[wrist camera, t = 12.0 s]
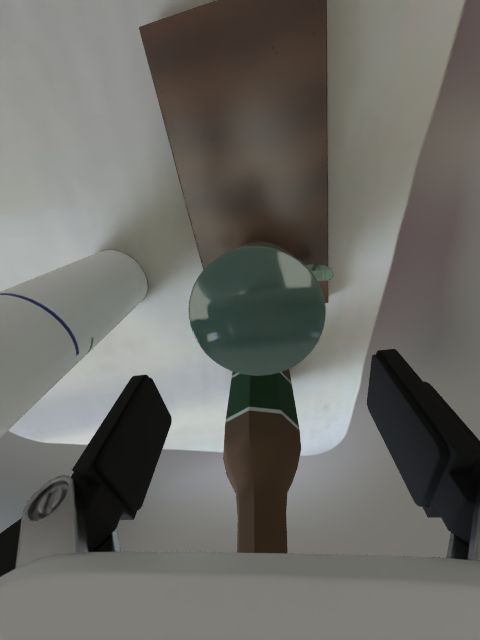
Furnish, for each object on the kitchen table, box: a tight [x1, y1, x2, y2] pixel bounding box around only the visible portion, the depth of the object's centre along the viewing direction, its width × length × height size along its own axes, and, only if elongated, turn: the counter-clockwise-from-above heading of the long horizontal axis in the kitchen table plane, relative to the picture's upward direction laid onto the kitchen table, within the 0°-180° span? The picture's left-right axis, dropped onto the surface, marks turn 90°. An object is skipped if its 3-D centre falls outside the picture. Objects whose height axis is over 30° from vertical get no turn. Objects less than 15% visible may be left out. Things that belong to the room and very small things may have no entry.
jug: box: [189, 240, 334, 376], centre depth 18 cm, size 7×9×14 cm
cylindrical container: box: [0, 250, 148, 437], centre depth 17 cm, size 7×7×25 cm
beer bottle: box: [223, 369, 301, 553], centre depth 23 cm, size 8×8×24 cm
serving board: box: [139, 0, 328, 303], centre depth 22 cm, size 24×13×2 cm, turn 10°
